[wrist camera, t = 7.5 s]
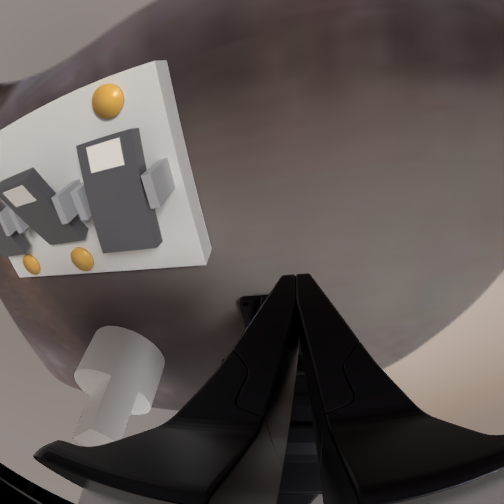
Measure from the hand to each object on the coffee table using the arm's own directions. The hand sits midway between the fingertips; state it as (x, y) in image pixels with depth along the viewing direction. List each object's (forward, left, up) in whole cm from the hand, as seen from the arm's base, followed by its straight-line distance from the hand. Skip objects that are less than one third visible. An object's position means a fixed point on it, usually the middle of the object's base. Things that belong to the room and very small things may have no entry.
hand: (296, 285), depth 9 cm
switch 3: (+1, +10, -8) cm, 13 cm away
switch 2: (+1, +17, -8) cm, 19 cm away
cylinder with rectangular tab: (-19, +20, -12) cm, 30 cm away
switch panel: (+1, +17, -12) cm, 21 cm away
